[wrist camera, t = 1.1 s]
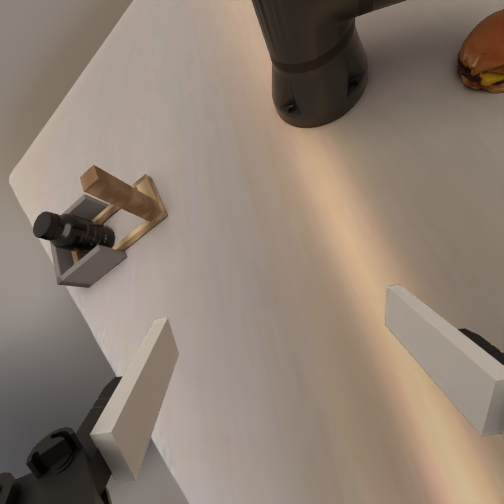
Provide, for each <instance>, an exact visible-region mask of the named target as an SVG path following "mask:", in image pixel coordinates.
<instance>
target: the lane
mask: <svg viewBox="0 0 504 504" xmlns="http://www.w3.org/2000/svg"><path fill="white" fill-rule="evenodd" d="M108 206H109V205H108V204H105V203H103V202H101V201H99V200H96V199H94V198H92V197H90V196H87V195H85V194H84V195H83V196H82V197H81V198H80V199H78V200H77V201H76V202H75V203H74V204H73V205H72V206H71V207H70V208H68V209H67V210H66V211H65V212H64V213H63V214H67V213H69V214H73V215H76V216H79V217H82V218H85V219H87V220H90V221H91V220H93V219H94V218H95V217H96V216H97V215H98V214H100V213H101V212H102V211H103V210H104V209H105V208H106V207H108ZM50 244H51V250H52V256H53V261H54V267H55V273H56V278H57V284H58V285H67V286H77V287H87V288H88V287H90V286H91V285H92V284H94V283H95V282H96V281H97V280H99V279H100V278H101V277H102V276H104V275H105V274H106V273H107V272H109V271H110V270H111V269H113V268H114V267H115V266H116V265H118V264H119V263H120V262H121V261H123V260H124V259H125V258H126V257H127V255H126V252H123V251H120V250H116V249H112V248H109V247H105V246H101V245H97V246H96V247H95V248H94V249H93V250H91V251H90V252H89V253H88V254H87V255H85V256H84V257H83V258H82V259H80V260H79V261H78V262H77V263H76V264H74V261H73V256H72V252H71V251H70V250H66V249H61V248H57V247H55V246H54V245H53V244H52V243H51V242H50Z"/></svg>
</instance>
